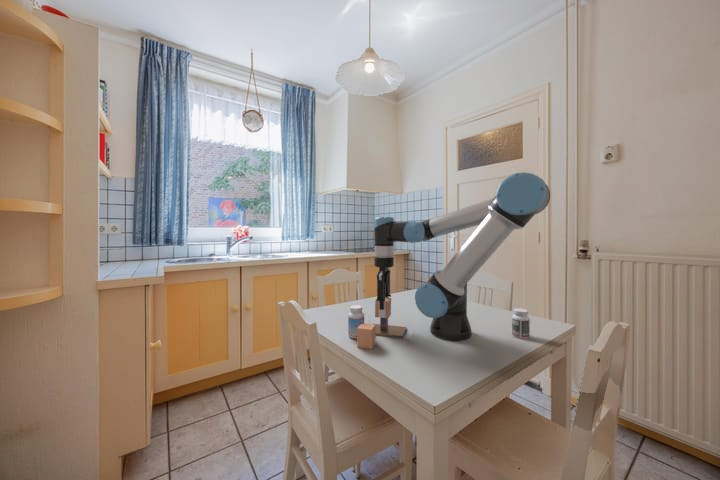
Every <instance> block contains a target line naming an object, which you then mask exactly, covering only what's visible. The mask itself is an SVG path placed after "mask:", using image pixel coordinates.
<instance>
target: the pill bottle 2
mask: <svg viewBox="0 0 720 480" xmlns="http://www.w3.org/2000/svg"><path fill="white" fill-rule="evenodd" d="M528 315H529V311H528V310H527V309H524V308H520V307H517V308H513V315H512V317H511V335H512V337H514V338H516V339H524V340H526V339H529V338H530V333H531V331H530V326H531V325H530V323H531V322H530V321H531V319H530V317H529V316H528Z"/></svg>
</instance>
